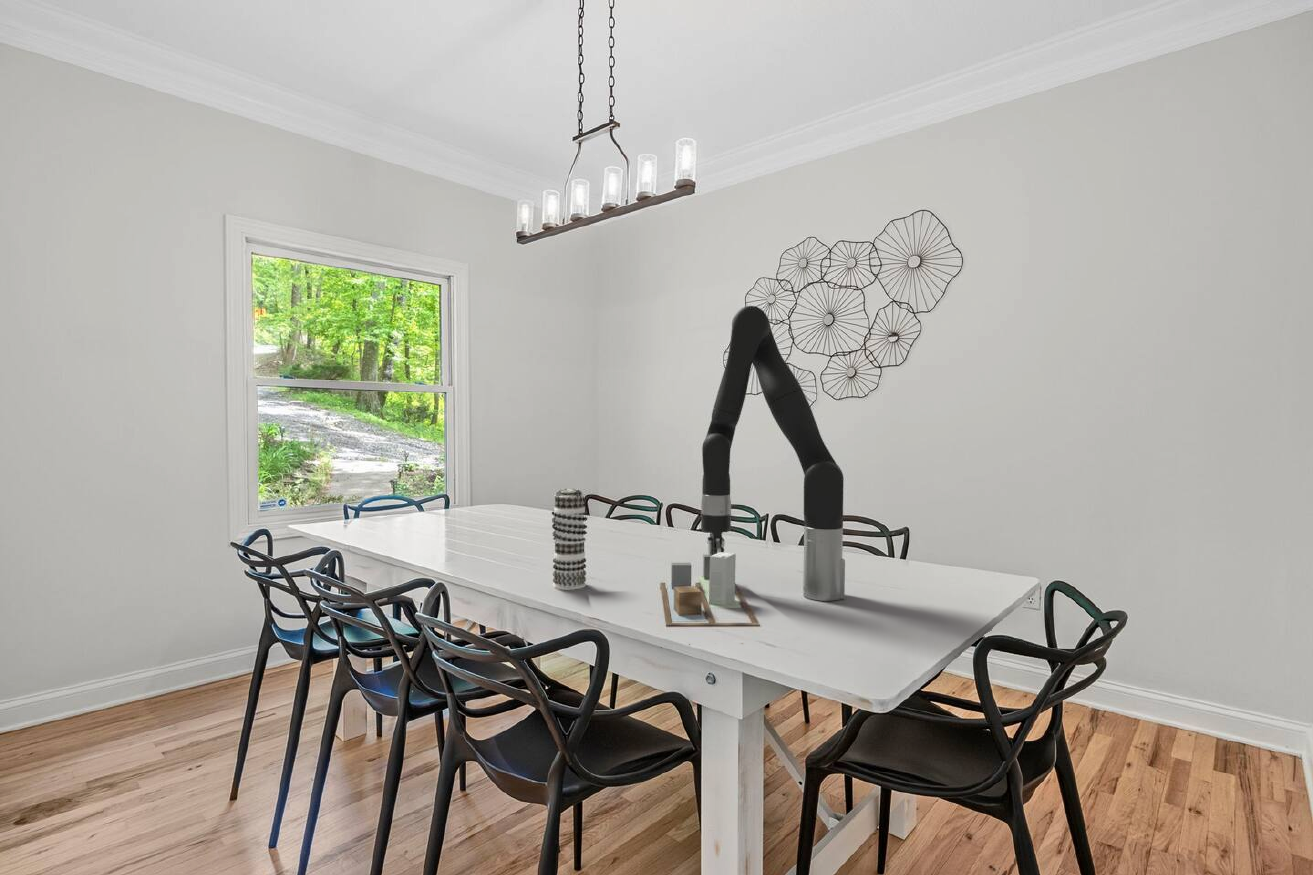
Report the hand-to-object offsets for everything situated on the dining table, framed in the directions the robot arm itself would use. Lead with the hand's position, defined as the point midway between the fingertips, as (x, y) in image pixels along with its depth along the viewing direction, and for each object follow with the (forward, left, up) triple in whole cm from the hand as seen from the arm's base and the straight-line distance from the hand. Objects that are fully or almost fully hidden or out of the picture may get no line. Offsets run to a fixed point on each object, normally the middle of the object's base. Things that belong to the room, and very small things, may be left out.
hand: (715, 579), depth 173 cm
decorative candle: (+37, -4, -3) cm, 38 cm away
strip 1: (+9, +16, -2) cm, 18 cm away
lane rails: (+4, +16, -2) cm, 16 cm away
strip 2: (0, +5, -2) cm, 6 cm away
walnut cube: (+9, +24, -1) cm, 25 cm away
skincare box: (0, +16, -2) cm, 16 cm away
